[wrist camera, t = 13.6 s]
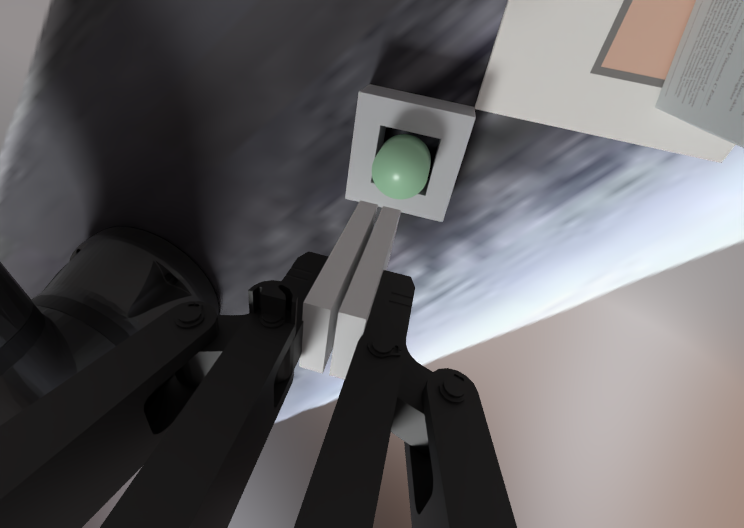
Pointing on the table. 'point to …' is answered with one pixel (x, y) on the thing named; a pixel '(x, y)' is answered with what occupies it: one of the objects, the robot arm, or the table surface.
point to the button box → (417, 117)
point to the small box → (709, 71)
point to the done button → (401, 166)
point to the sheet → (594, 71)
